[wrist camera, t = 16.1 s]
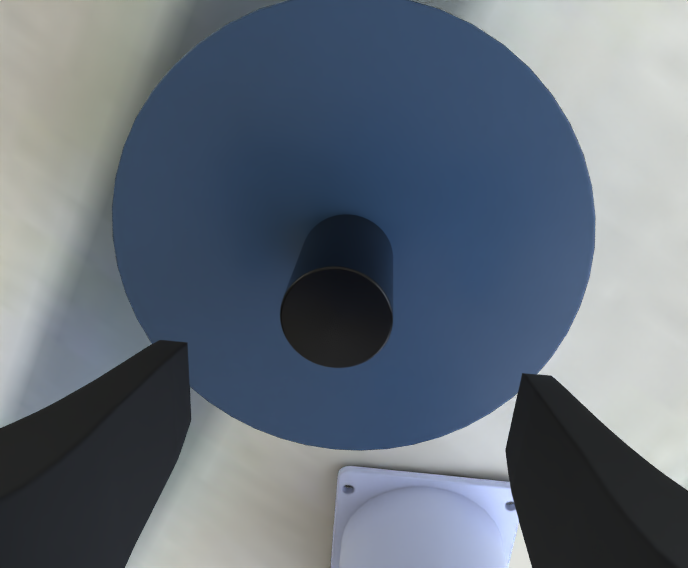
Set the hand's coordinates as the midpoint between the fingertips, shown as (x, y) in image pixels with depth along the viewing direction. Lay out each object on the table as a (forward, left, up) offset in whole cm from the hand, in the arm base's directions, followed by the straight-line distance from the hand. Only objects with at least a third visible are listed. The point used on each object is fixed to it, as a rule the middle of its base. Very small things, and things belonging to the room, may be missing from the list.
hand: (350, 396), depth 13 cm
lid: (+2, 0, -4) cm, 5 cm away
